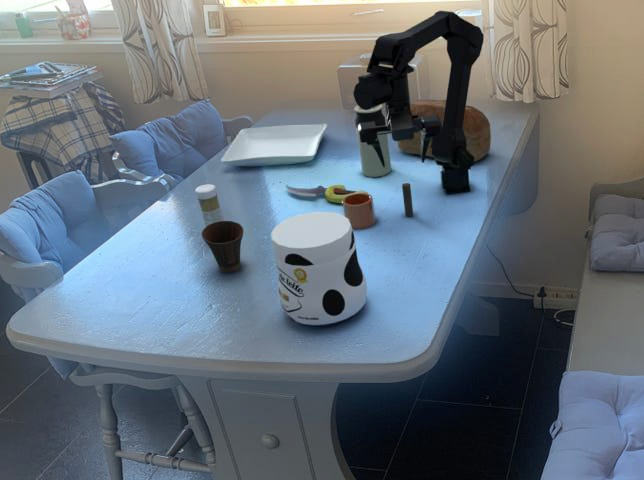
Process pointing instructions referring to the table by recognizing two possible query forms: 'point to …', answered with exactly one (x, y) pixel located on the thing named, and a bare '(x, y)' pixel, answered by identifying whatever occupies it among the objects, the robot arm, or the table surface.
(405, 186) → the walnut stick
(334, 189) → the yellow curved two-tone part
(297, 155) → the square plate
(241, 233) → the cup
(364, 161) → the travel mug
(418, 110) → the bread
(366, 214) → the terracotta cup
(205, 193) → the sprinkles bottle
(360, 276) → the milk container
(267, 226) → the table surface
